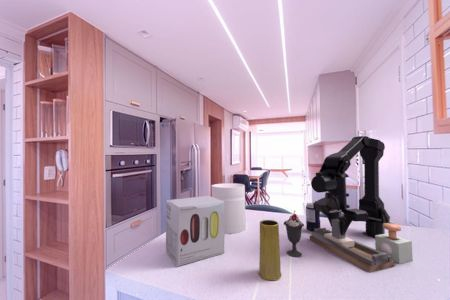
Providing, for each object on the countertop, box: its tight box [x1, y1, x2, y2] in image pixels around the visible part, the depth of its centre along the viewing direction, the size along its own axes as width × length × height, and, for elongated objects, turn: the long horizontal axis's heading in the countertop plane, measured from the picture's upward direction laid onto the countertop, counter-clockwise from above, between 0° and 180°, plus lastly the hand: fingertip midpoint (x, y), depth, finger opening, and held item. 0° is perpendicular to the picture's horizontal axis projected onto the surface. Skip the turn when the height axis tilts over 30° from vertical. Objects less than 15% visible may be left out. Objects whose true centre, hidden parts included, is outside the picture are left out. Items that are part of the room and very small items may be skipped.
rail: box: [309, 227, 395, 273], centre depth 69 cm, size 10×24×4 cm, turn 17°
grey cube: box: [374, 232, 414, 265], centre depth 64 cm, size 6×7×6 cm
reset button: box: [383, 222, 402, 241], centre depth 65 cm, size 4×4×5 cm
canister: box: [211, 182, 246, 235], centre depth 94 cm, size 16×16×20 cm
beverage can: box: [305, 202, 321, 233], centre depth 88 cm, size 6×6×12 cm
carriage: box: [324, 219, 355, 248], centre depth 72 cm, size 5×8×8 cm, turn 17°
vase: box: [258, 219, 282, 281], centre depth 56 cm, size 6×6×14 cm
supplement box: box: [165, 195, 225, 268], centre depth 70 cm, size 17×13×18 cm
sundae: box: [283, 210, 305, 258], centre depth 67 cm, size 7×7×15 cm
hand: (338, 233), depth 71 cm, fingers closed on carriage, 3 cm apart
